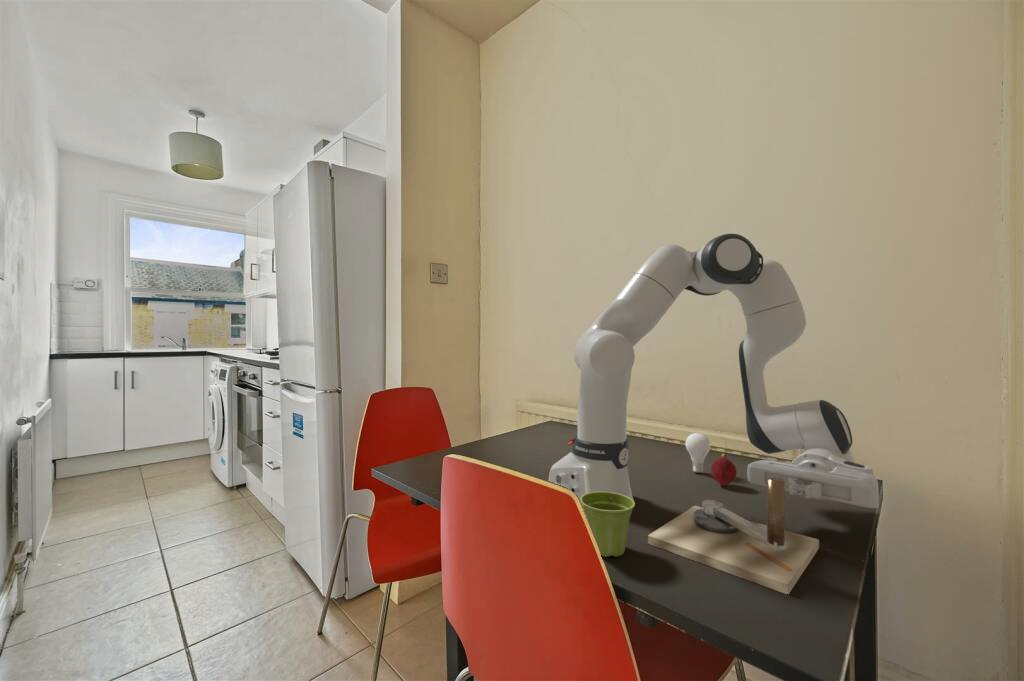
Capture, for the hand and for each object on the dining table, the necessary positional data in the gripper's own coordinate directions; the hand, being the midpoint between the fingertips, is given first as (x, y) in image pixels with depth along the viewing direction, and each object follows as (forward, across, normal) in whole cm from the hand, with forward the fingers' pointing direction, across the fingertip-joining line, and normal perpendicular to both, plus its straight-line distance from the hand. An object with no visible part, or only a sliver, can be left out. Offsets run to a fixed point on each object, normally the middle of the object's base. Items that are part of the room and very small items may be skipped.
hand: (798, 492), depth 76 cm
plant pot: (+24, -24, +10) cm, 35 cm away
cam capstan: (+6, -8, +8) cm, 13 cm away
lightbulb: (-31, -31, +10) cm, 45 cm away
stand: (+7, -9, +10) cm, 15 cm away
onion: (-25, -22, +10) cm, 35 cm away
